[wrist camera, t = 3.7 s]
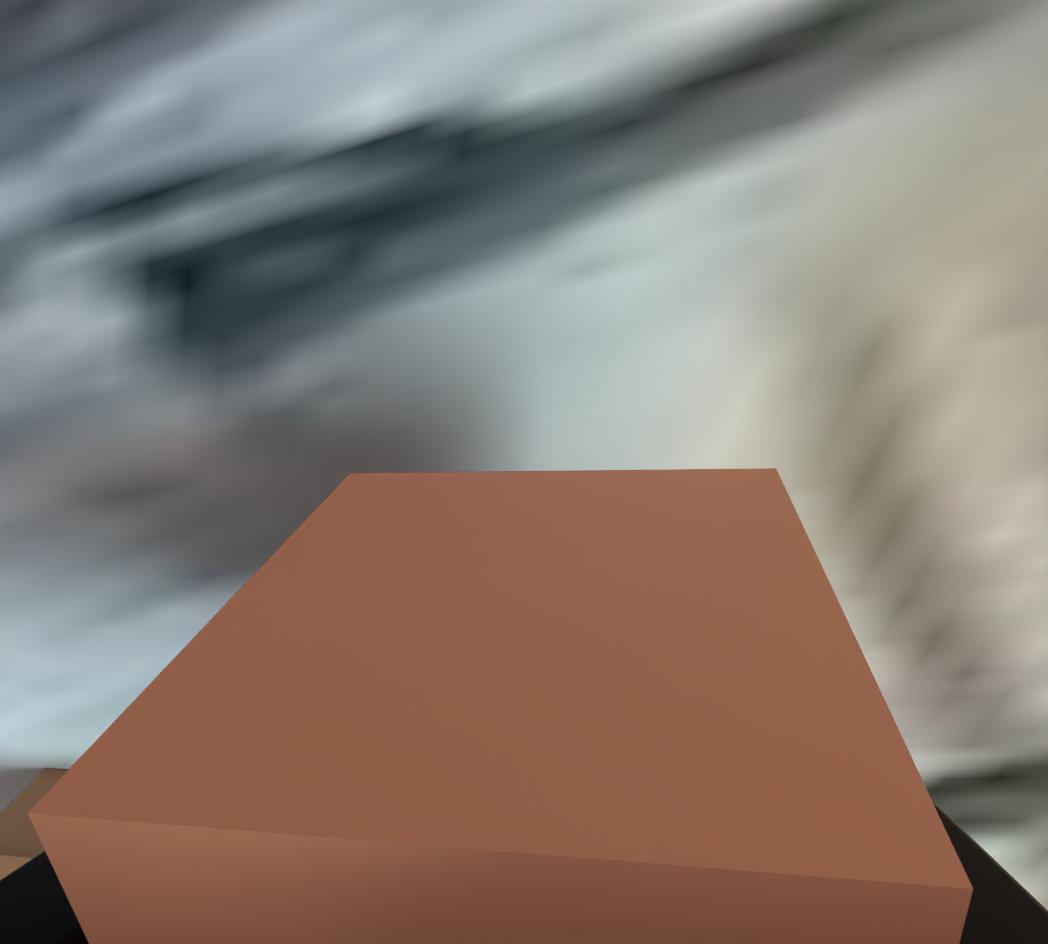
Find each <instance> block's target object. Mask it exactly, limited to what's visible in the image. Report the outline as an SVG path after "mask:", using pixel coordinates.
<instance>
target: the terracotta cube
mask: <svg viewBox="0 0 1048 944" xmlns="http://www.w3.org/2000/svg"><path fill="white" fill-rule="evenodd" d="M28 816H29V818H30V820H31V822H32V824H33V826H34V828H35V830H36V832H37V835H38V837H39V839H40V841H41V843H42V845H43V847H44V849H45V852H46V854H47V856H48V858H49V860H50V862H51V864H52V866H53V868H54V871H55V873H56V875H57V877H58V879H59V881H60V883H61V885H62V887H63V890H64V892H65V894H66V896H67V898H68V900H69V902H70V904H71V906H72V909H73V911H74V913H75V915H76V917H77V919H78V921H79V923H80V925H81V928H82V930H83V932H84V934H85V936H86V938H87V940H88V942H89V944H959V943H960V939H961V935H962V931H963V927H964V923H965V919H966V915H967V911H968V907H969V903H970V899H971V895H972V891H973V887H972V885H971V883H970V881H969V879H968V877H967V875H966V872H965V870H964V868H963V866H962V864H961V862H960V860H959V858H958V855H957V853H956V851H955V849H954V847H953V845H952V843H951V840H950V838H949V836H948V834H947V832H946V830H945V828H944V826H943V823H942V821H941V819H940V817H939V815H938V813H937V811H936V809H935V806H934V804H933V802H932V800H931V798H930V796H929V794H928V791H927V789H926V787H925V785H924V783H923V781H922V779H921V777H920V774H919V772H918V770H917V768H916V766H915V764H914V762H913V760H912V757H911V755H910V753H909V751H908V749H907V747H906V745H905V742H904V740H903V738H902V736H901V734H900V732H899V730H898V728H897V725H896V723H895V721H894V719H893V717H892V715H891V713H890V711H889V708H888V706H887V704H886V702H885V700H884V698H883V696H882V694H881V691H880V689H879V687H878V685H877V683H876V681H875V679H874V676H873V674H872V672H871V670H870V668H869V666H868V664H867V662H866V659H865V657H864V655H863V653H862V651H861V649H860V647H859V645H858V642H857V640H856V638H855V636H854V634H853V632H852V630H851V627H850V625H849V623H848V621H847V619H846V617H845V615H844V613H843V610H842V608H841V606H840V604H839V602H838V600H837V598H836V596H835V593H834V591H833V589H832V587H831V585H830V583H829V581H828V578H827V576H826V574H825V572H824V570H823V568H822V566H821V564H820V561H819V559H818V557H817V555H816V553H815V551H814V549H813V547H812V544H811V542H810V540H809V538H808V536H807V534H806V532H805V529H804V527H803V525H802V523H801V521H800V519H799V517H798V515H797V512H796V510H795V508H794V506H793V504H792V502H791V500H790V498H789V495H788V493H787V491H786V489H785V487H784V485H783V483H782V481H781V478H780V476H779V474H778V472H777V470H776V469H689V470H595V471H500V472H405V473H350V474H349V475H348V476H347V477H346V478H345V479H344V480H343V481H342V482H341V483H340V484H339V485H338V486H337V487H336V488H335V490H334V491H333V492H332V493H331V494H330V495H329V496H328V497H327V498H326V499H325V500H324V501H323V502H322V503H321V504H320V505H319V506H318V507H317V509H316V510H315V511H314V512H313V513H312V514H311V515H310V516H309V517H308V518H307V519H306V520H305V521H304V522H303V523H302V524H301V525H300V526H299V527H298V529H297V530H296V531H295V532H294V533H293V534H292V535H291V536H290V537H289V538H288V539H287V540H286V541H285V542H284V543H283V544H282V545H281V546H280V548H279V549H278V550H277V551H276V552H275V553H274V554H273V555H272V556H271V557H270V558H269V559H268V560H267V561H266V562H265V563H264V564H263V565H262V567H261V568H260V569H259V570H258V571H257V572H256V573H255V574H254V575H253V576H252V577H251V578H250V579H249V580H248V581H247V582H246V583H245V584H244V585H243V587H242V588H241V589H240V590H239V591H238V592H237V593H236V594H235V595H234V596H233V597H232V598H231V599H230V600H229V601H228V602H227V603H226V604H225V606H224V607H223V608H222V609H221V610H220V611H219V612H218V613H217V614H216V615H215V616H214V617H213V618H212V619H211V620H210V621H209V622H208V623H207V625H206V626H205V627H204V628H203V629H202V630H201V631H200V632H199V633H198V634H197V635H196V636H195V637H194V638H193V639H192V640H191V641H190V642H189V643H188V645H187V646H186V647H185V648H184V649H183V650H182V651H181V652H180V653H179V654H178V655H177V656H176V657H175V658H174V659H173V660H172V661H171V662H170V664H169V665H168V666H167V667H166V668H165V669H164V670H163V671H162V672H161V673H160V674H159V675H158V676H157V677H156V678H155V679H154V680H153V681H152V683H151V684H150V685H149V686H148V687H147V688H146V689H145V690H144V691H143V692H142V693H141V694H140V695H139V696H138V697H137V698H136V699H135V700H134V701H133V703H132V704H131V705H130V706H129V707H128V708H127V709H126V710H125V711H124V712H123V713H122V714H121V715H120V716H119V717H118V718H117V719H116V720H115V722H114V723H113V724H112V725H111V726H110V727H109V728H108V729H107V730H106V731H105V732H104V733H103V734H102V735H101V736H100V737H99V738H98V739H97V741H96V742H95V743H94V744H93V745H92V746H91V747H90V748H89V749H88V750H87V751H86V752H85V753H84V754H83V755H82V756H81V757H80V758H79V759H78V761H77V762H76V763H75V764H74V765H73V766H72V767H71V768H70V769H69V770H68V771H67V772H66V773H65V774H64V775H63V776H62V777H61V778H60V780H59V781H58V782H57V783H56V784H55V785H54V786H53V787H52V788H51V789H50V790H49V791H48V792H47V793H46V794H45V795H44V796H43V797H42V799H41V800H40V801H39V802H38V803H37V804H36V805H35V806H34V807H33V808H32V809H31V810H30V811H29V812H28Z"/></svg>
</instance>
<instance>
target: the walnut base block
mask: <svg viewBox="0 0 1048 944" xmlns="http://www.w3.org/2000/svg"><path fill="white" fill-rule="evenodd" d="M68 770H69V769H57V768H45V769H44V770H43V771H42V772H41V773H40V774H39V775H38V776H37V777H36V778H35V779H34V780H33V781H32V782H31V783H30V784H29V785H28V786H27V787H26V788H25V789H24V790H23V791H22V792H21V793H20V794H19V795H18V796H17V797H16V798H15V799H14V800H13V801H12V802H11V803H10V804H9V805H8V806H7V807H6V808H5V809H4V810H3V811H2V812H1V813H0V880H1V879H2V878H4V877H5V876H7V875H8V874H10V873H11V872H13V871H14V870H16V869H17V868H19V867H20V866H22V865H23V864H25V863H26V862H28V861H29V860H31V859H32V858H34V857H35V856H37V855H38V854H40V853H41V852H43V851H44V850H45V849H44V847H43V845H42V843H41V841H40V839H39V837H38V835H37V832H36V830H35V828H34V826H33V824H32V822H31V820H30V818H29V816H28V812H29V811H30V810H31V809H32V808H33V807H34V806H35V805H36V804H37V803H38V802H39V801H40V800H41V799H42V797H43V796H44V795H45V794H46V793H47V792H48V791H49V790H50V789H51V788H52V787H53V786H54V785H55V784H56V783H57V782H58V781H59V780H60V778H61V777H62V776H63V775H64V774H65V773H66V772H67V771H68Z"/></svg>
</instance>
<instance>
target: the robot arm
mask: <svg viewBox="0 0 1048 944" xmlns="http://www.w3.org/2000/svg"><path fill="white" fill-rule="evenodd" d="M932 802H933V801H932ZM933 804H934V806H935V809H936V811H937V813H938V815H939V817H940V819H941V821H942V823H943V826H944V828H945V830H946V832H947V834H948V836H949V838H950V840H951V843H952V845H953V847H954V849H955V851H956V853H957V855H958V858H959V860H960V862H961V864H962V866H963V868H964V870H965V872H966V875H967V877H968V879H969V881H970V883H971V885H972V887H973V891H972V895H971V899H970V903H969V907H968V911H967V915H966V919H965V923H964V927H963V931H962V935H961V939H960V943H959V944H1048V911H1047V910H1046V909H1045V908H1044V907H1043V906H1042V905H1041V904H1040V903H1039V902H1038V901H1037V900H1036V899H1035V898H1034V897H1033V896H1032V895H1031V894H1030V893H1029V892H1028V891H1027V890H1025V889H1024V888H1023V887H1022V886H1021V885H1020V884H1019V883H1018V882H1017V881H1016V880H1015V879H1014V878H1013V877H1012V876H1011V875H1010V874H1009V873H1008V872H1007V871H1006V870H1005V869H1004V868H1002V867H1001V866H1000V865H999V864H998V863H997V862H996V861H995V860H994V859H993V858H992V857H991V856H990V855H989V854H988V853H987V852H986V851H985V850H984V849H983V848H982V847H981V846H979V845H978V844H977V843H976V842H975V841H974V840H973V839H972V838H971V837H970V836H969V835H968V834H967V833H966V832H965V831H964V830H963V829H962V828H961V827H960V826H959V825H958V824H956V823H955V822H954V821H953V820H952V819H951V818H950V817H949V816H948V815H947V814H946V813H945V812H944V811H943V810H942V809H941V808H940V807H939V806H938V805H937V804H936V803H934V802H933ZM0 944H89V942H88V940H87V938H86V936H85V934H84V932H83V930H82V928H81V925H80V923H79V921H78V919H77V917H76V915H75V913H74V911H73V909H72V906H71V904H70V902H69V900H68V898H67V896H66V894H65V892H64V890H63V887H62V885H61V883H60V881H59V879H58V877H57V875H56V873H55V871H54V868H53V866H52V864H51V862H50V860H49V858H48V856H47V854H46V852H45V850H44V851H43V852H41V853H40V854H38V855H37V856H35V857H34V858H32V859H31V860H29V861H28V862H26V863H25V864H23V865H22V866H20V867H19V868H17V869H16V870H14V871H13V872H11V873H10V874H8V875H7V876H5V877H4V878H2V879H1V880H0Z"/></svg>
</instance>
